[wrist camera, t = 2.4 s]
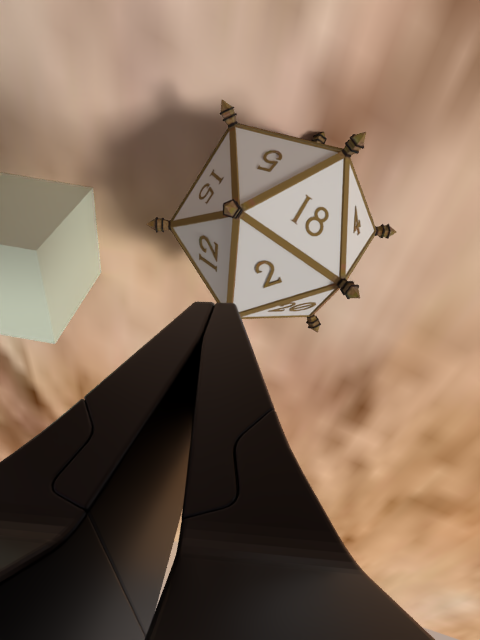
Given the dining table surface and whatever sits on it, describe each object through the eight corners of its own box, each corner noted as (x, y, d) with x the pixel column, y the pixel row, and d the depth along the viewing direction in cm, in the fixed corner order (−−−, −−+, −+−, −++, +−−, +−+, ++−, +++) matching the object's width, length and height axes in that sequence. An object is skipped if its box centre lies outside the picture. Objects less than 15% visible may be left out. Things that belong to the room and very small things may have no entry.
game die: (321, 146, 23) (488, 238, 17) (228, 280, 26) (345, 405, 19) (194, 24, 17) (387, 100, 10) (85, 219, 19) (188, 378, 13)
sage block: (93, 187, 22) (36, 250, 18) (101, 271, 25) (55, 344, 21) (-7, 170, 22) (-89, 229, 18) (14, 257, 26) (-52, 325, 21)
